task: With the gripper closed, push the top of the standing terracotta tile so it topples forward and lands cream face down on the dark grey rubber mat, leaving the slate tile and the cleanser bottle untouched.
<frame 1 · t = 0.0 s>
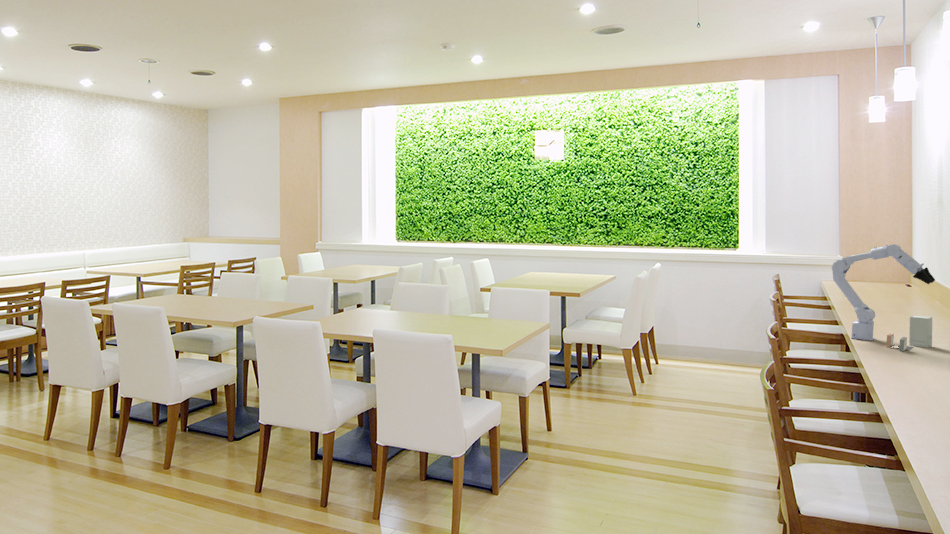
hand: (932, 282, 327), 32 cm above the counter, tool tilted 50°, fingers open, 7 cm apart
rubber mat: (901, 347, 328), on the counter
terracotta tile: (889, 346, 331), on the counter
slate tile: (902, 350, 322), on the counter, touching rubber mat
skincare box: (919, 346, 333), on the counter
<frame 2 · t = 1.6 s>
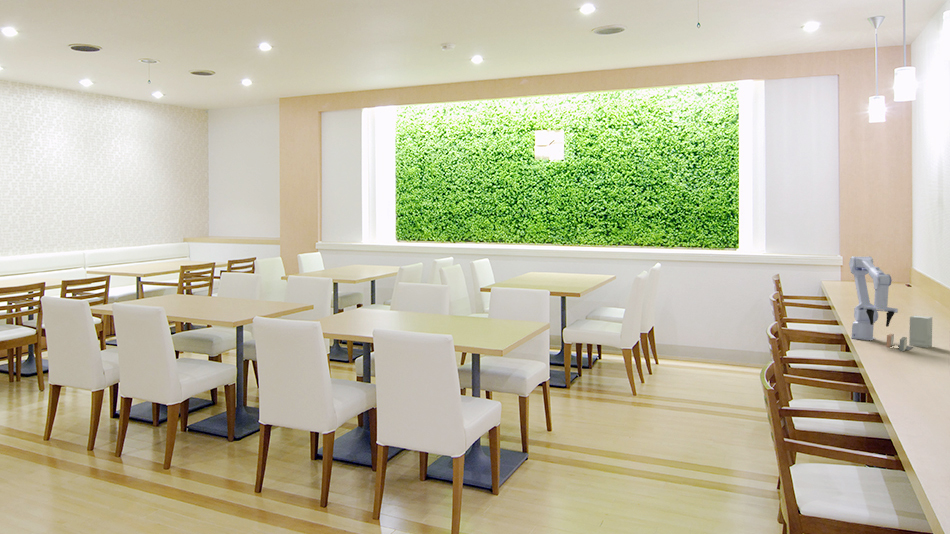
hand: (879, 325, 334), 10 cm above the counter, tool pointing down, fingers open, 6 cm apart
nothing on the counter moved.
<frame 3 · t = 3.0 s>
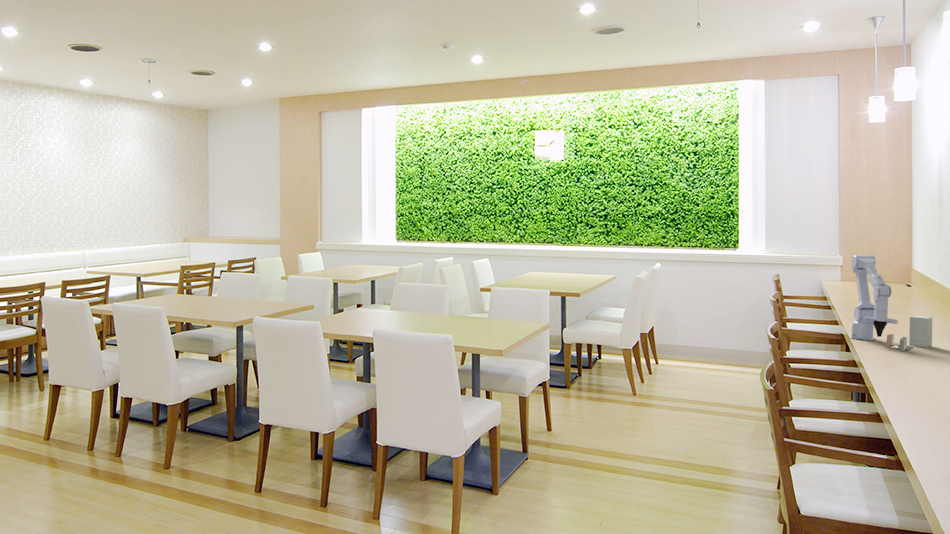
hand: (879, 336, 334), 4 cm above the counter, tool pointing down, fingers closed
nothing on the counter moved.
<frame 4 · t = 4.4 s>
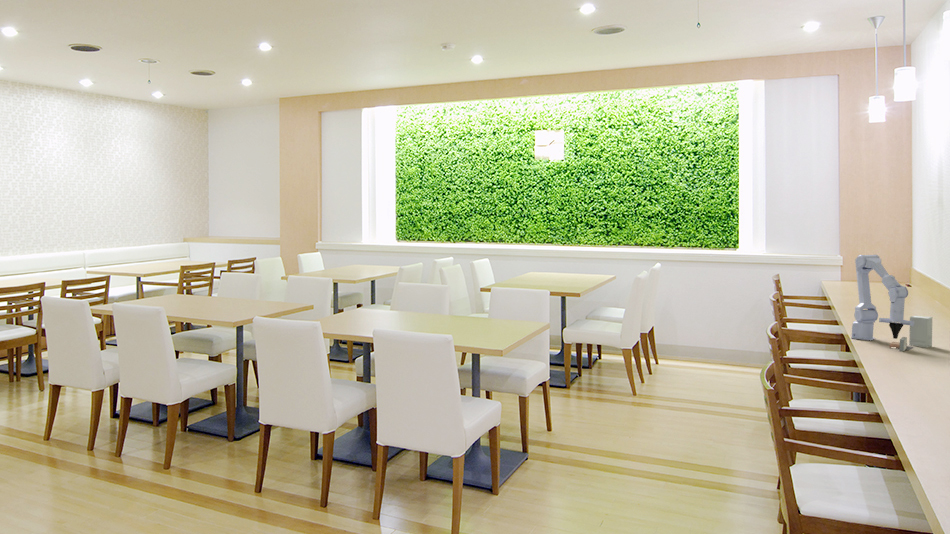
hand: (895, 338, 329), 4 cm above the counter, tool pointing down, fingers closed
terracotta tile: (891, 344, 331), point 1 cm above the counter, tilted 90°, touching rubber mat
everything else where it was.
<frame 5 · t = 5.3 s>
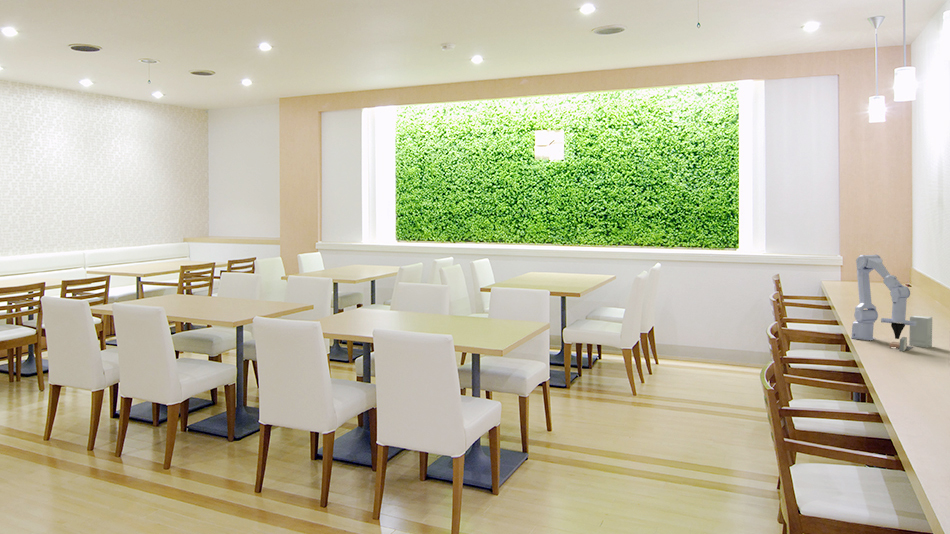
hand: (897, 338, 329), 4 cm above the counter, tool pointing down, fingers closed
nothing on the counter moved.
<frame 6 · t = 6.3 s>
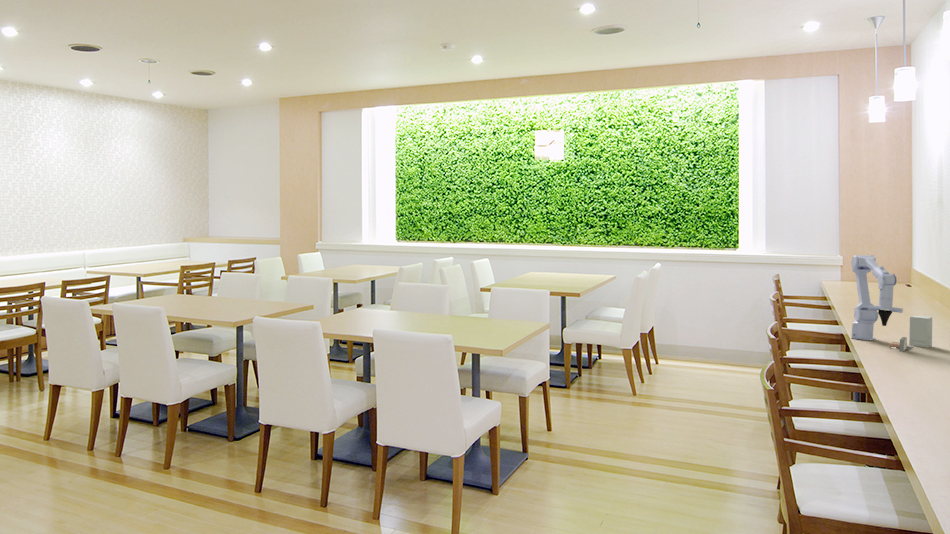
hand: (884, 325, 331), 10 cm above the counter, tool pointing down, fingers closed
nothing on the counter moved.
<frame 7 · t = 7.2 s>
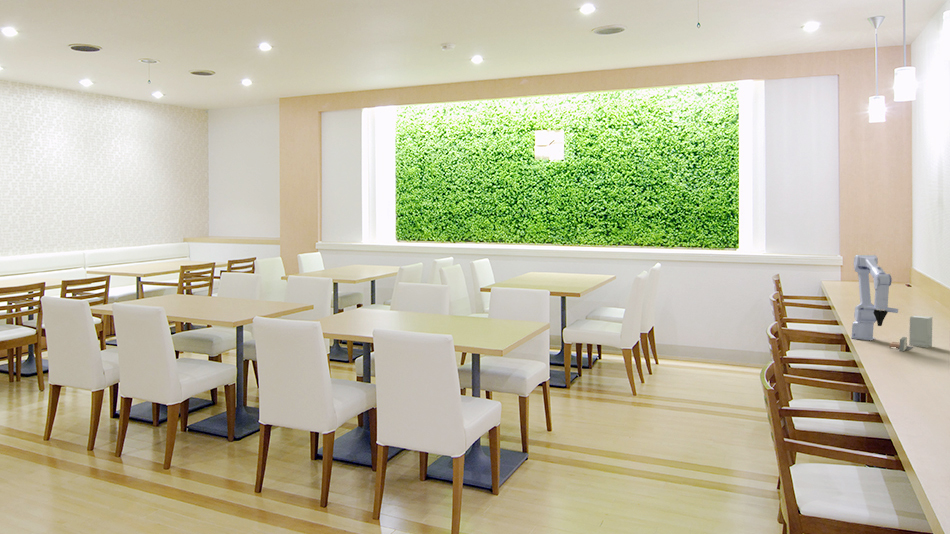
hand: (879, 325, 330), 10 cm above the counter, tool pointing down, fingers closed
nothing on the counter moved.
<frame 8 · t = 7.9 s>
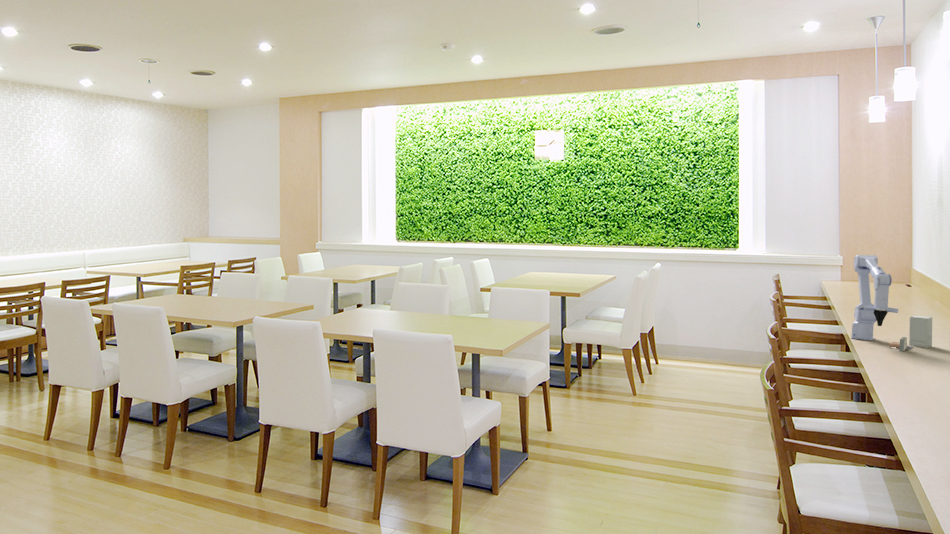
hand: (879, 325, 330), 10 cm above the counter, tool pointing down, fingers closed
nothing on the counter moved.
at the end: terracotta tile tilted 90°; terracotta tile inside the target area (3.8 cm from its centre), point 1.2 cm above the counter; slate tile tilted 4° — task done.
